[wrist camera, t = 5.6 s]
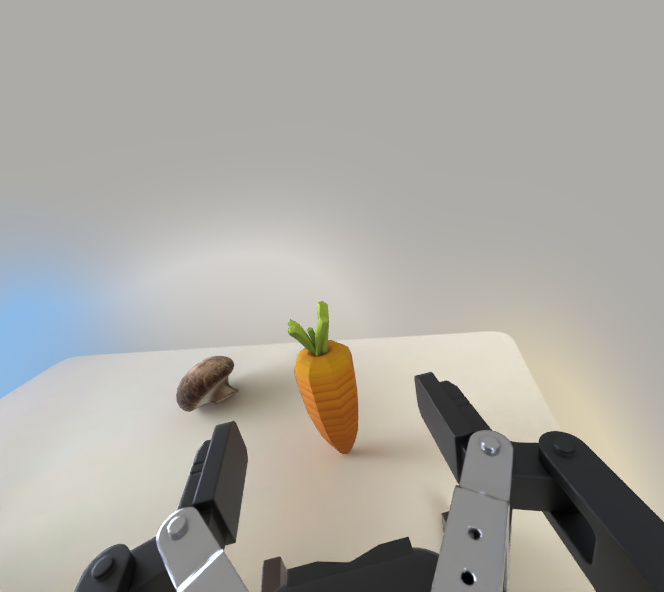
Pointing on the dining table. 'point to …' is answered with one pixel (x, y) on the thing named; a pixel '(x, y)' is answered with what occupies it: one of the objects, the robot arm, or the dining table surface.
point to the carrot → (327, 382)
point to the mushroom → (206, 383)
